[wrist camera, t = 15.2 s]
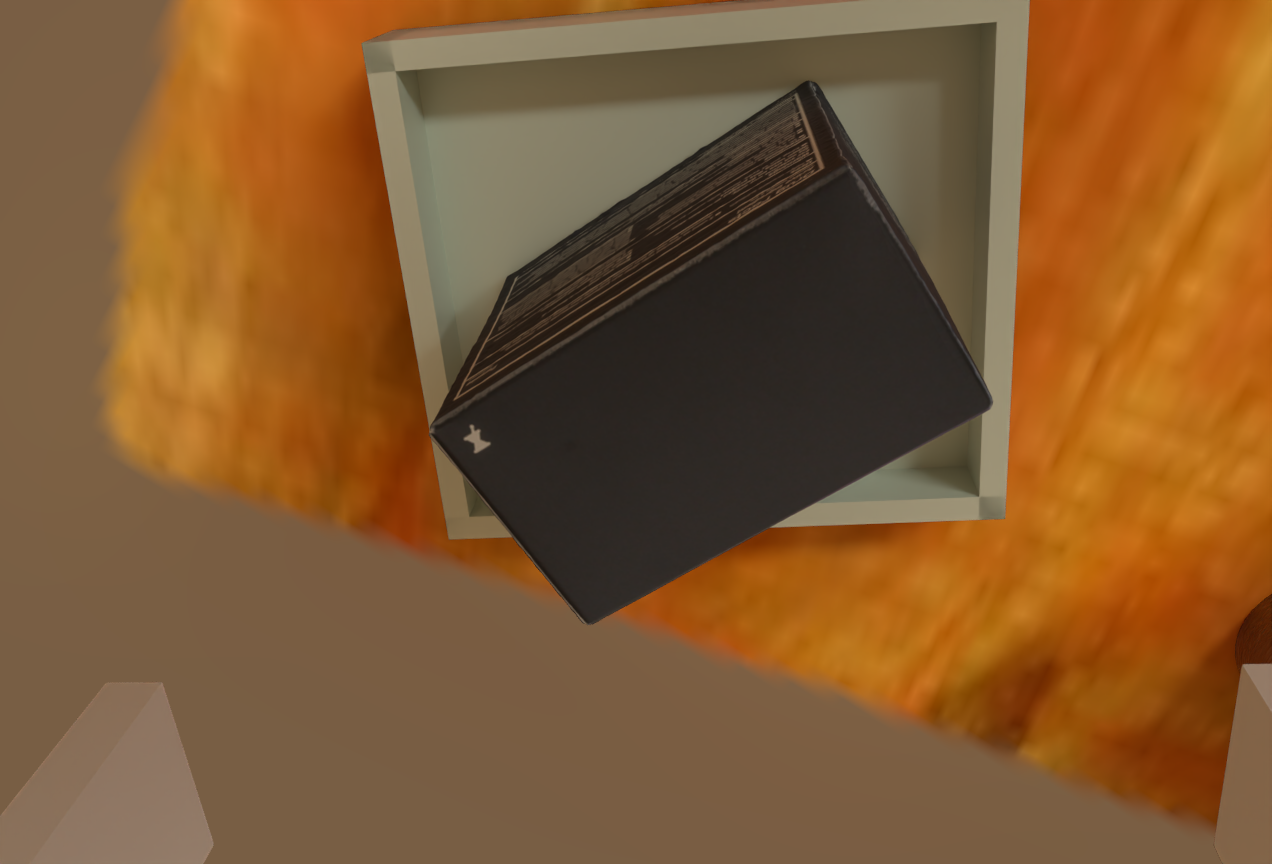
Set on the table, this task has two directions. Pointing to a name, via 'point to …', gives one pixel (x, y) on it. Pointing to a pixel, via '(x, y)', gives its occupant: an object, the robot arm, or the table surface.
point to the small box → (706, 362)
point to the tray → (676, 129)
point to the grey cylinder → (1256, 636)
